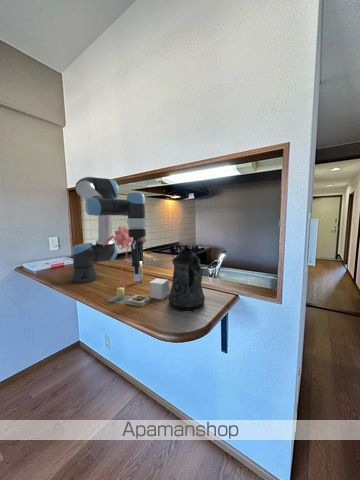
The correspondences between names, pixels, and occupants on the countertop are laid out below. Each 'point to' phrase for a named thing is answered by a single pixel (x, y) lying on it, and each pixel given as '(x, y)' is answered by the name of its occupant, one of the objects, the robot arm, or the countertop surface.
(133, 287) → the countertop surface
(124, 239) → the pink flower stem
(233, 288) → the countertop surface
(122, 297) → the peg plate
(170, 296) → the beer stein
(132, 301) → the socket board
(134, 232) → the robot arm
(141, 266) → the pin
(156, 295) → the white block
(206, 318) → the countertop surface
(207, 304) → the countertop surface
